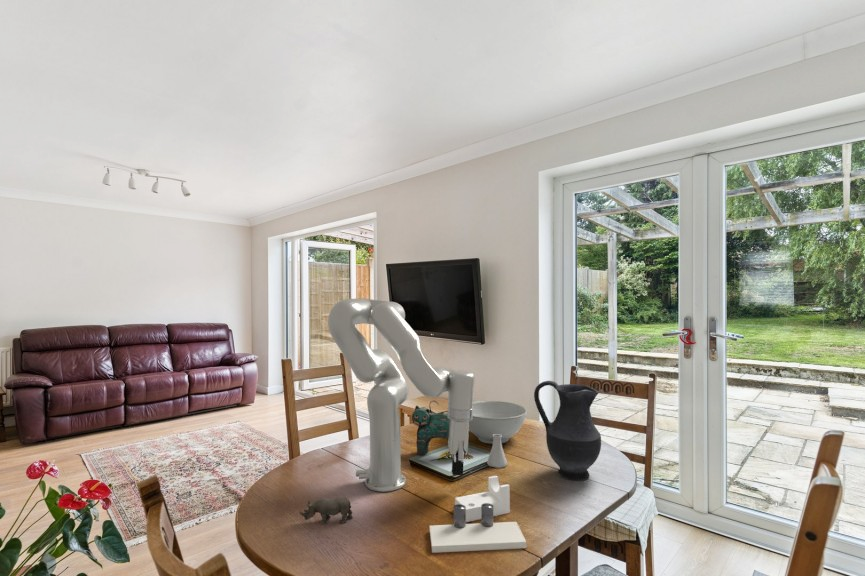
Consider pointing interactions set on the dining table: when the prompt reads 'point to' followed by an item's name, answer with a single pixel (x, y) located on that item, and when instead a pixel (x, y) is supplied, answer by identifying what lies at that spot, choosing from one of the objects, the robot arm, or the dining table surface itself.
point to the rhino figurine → (329, 509)
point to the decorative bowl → (496, 420)
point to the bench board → (476, 537)
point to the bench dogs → (485, 515)
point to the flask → (497, 453)
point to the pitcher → (571, 430)
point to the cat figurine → (429, 427)
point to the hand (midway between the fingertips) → (457, 473)
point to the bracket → (487, 500)
